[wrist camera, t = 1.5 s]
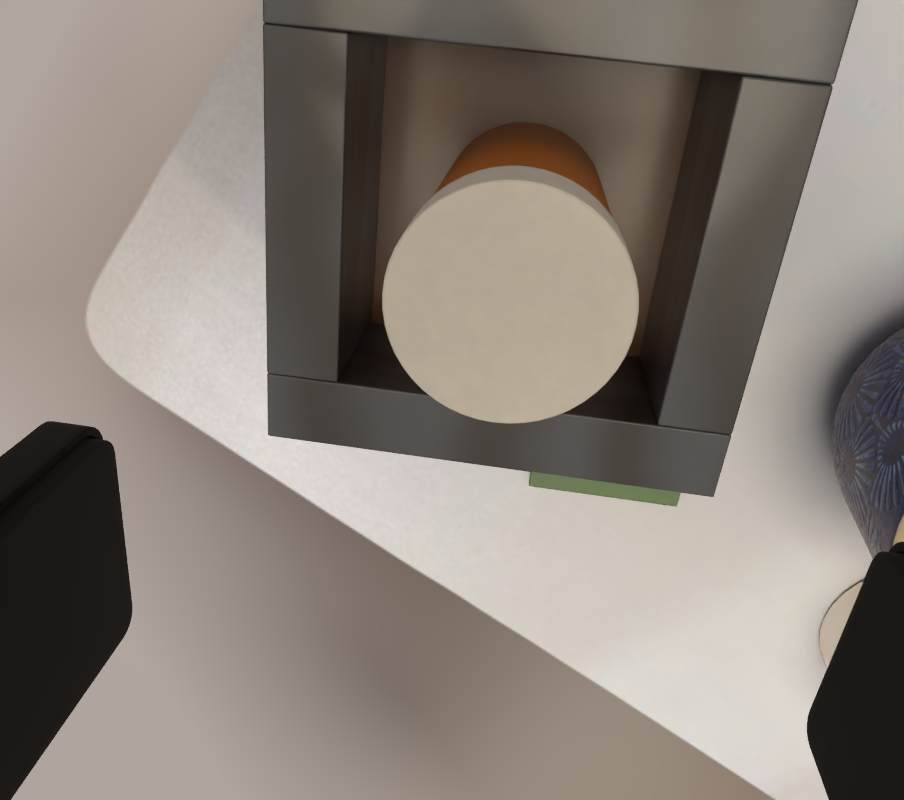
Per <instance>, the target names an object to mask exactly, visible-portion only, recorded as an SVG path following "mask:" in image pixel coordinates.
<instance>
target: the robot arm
mask: <svg viewBox="0 0 904 800" xmlns="http://www.w3.org/2000/svg"><path fill="white" fill-rule="evenodd" d="M131 617H132V600H131V590H130V582H129V573H128V565H127V555H126V547H125V538H124V529H123V520H122V511H121V502H120V493H119V485H118V476H117V467H116V459H115V451H114V447H113V445H112V444H111V443H110V442H109V441H106V440H103V438H102V435H101V433H100V432H99V430H98V429H96V428H94V427H89V426H81V425H75V424H68V423H61V422H53V421H52V422H46V423H44V424H42V425H40V426H39V427H38V428H36V429H35V430H34V431H33V432H31V433H30V434H29V435H28V436H26V437H25V438H24V439H23V440H21V441H20V442H19V443H17V444H16V445H15V446H14V447H12V448H11V449H10V450H8V451H7V452H6V453H5V454H3V455H2V456H1V457H0V800H11V799H12V797H13V795H14V794H15V793H16V791H17V790H18V788H19V787H20V786H21V784H22V783H23V781H24V780H25V778H26V777H27V776H28V774H29V773H30V771H31V770H32V768H33V767H34V766H35V764H36V762H37V761H38V760H39V758H40V757H41V755H42V754H43V752H44V751H45V749H46V748H47V747H48V745H49V744H50V743H51V741H52V740H53V738H54V737H55V735H56V734H57V732H58V731H59V729H60V728H61V727H62V725H63V724H64V722H65V721H66V719H67V718H68V717H69V715H70V714H71V712H72V711H73V709H74V708H75V707H76V705H77V703H78V702H79V701H80V699H81V698H82V696H83V695H84V694H85V692H86V691H87V689H88V688H89V686H90V685H91V683H92V682H93V681H94V679H95V678H96V676H97V675H98V673H99V672H100V671H101V669H102V668H103V666H104V665H105V663H106V662H107V661H108V659H109V658H110V656H111V655H112V653H113V652H114V651H115V649H116V647H117V646H118V645H119V643H120V642H121V640H122V639H123V637H124V636H125V634H126V632H127V630H128V627H129V624H130V621H131ZM807 735H808V741H809V745H810V748H811V751H812V754H813V757H814V759H815V762H816V765H817V768H818V770H819V773H820V776H821V779H822V782H823V784H824V787H825V790H826V793H827V796H828V798H829V800H904V542H899V543H896V544H895V545H894V546H892V547H891V548H890V550H889V552H885V551H882V552H879V553H878V554H877V555H875V557H874V558H873V560H872V562H871V565H870V567H869V569H868V572H867V574H866V577H865V579H864V581H863V584H862V586H861V589H860V591H859V593H858V596H857V598H856V601H855V603H854V605H853V608H852V610H851V613H850V615H849V618H848V620H847V622H846V625H845V627H844V630H843V632H842V634H841V637H840V639H839V642H838V644H837V646H836V649H835V651H834V654H833V656H832V659H831V661H830V663H829V666H828V668H827V671H826V673H825V675H824V678H823V680H822V683H821V685H820V687H819V690H818V692H817V695H816V697H815V699H814V702H813V704H812V707H811V709H810V712H809V715H808V721H807Z"/></svg>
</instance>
